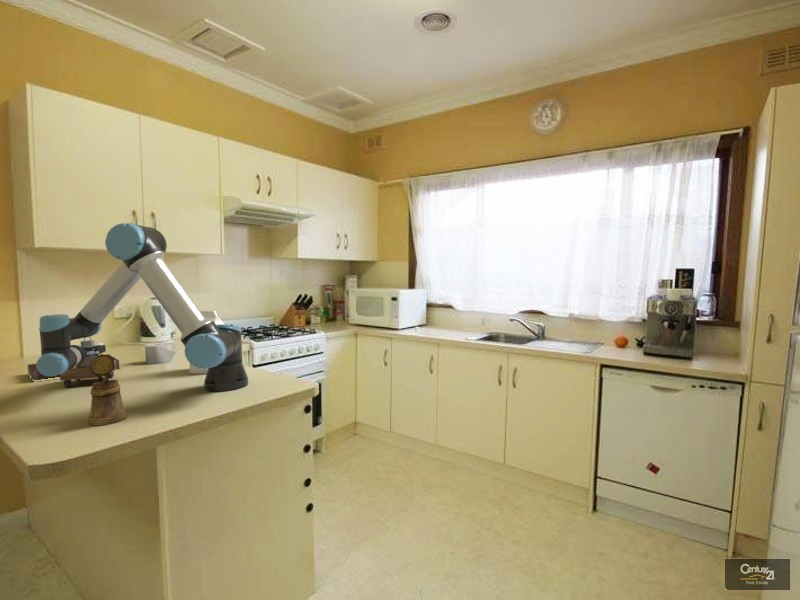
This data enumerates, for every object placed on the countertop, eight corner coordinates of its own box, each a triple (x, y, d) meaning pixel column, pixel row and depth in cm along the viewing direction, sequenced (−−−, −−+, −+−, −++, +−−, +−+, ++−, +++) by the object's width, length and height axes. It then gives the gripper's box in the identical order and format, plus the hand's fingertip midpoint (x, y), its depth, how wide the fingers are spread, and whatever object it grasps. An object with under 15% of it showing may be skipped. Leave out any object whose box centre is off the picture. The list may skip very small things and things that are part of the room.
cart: (105, 384, 159) (104, 366, 159) (61, 388, 154) (59, 370, 154) (116, 376, 172) (115, 359, 172) (76, 379, 167) (74, 362, 167)
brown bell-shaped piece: (122, 409, 129) (119, 351, 128) (128, 420, 119) (124, 358, 118) (87, 415, 123) (83, 356, 122) (90, 428, 113) (85, 363, 112)
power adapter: (80, 365, 162) (78, 334, 162) (97, 363, 166) (95, 333, 165) (80, 366, 160) (78, 335, 159) (97, 364, 163) (95, 334, 162)
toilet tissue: (173, 363, 197) (172, 345, 196) (142, 365, 194) (141, 346, 193) (179, 359, 206) (178, 342, 205) (149, 361, 203) (148, 343, 202)
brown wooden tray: (33, 383, 165) (32, 371, 164) (28, 376, 177) (27, 364, 177) (119, 370, 185) (118, 359, 185) (109, 364, 198) (108, 354, 198)
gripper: (37, 370, 143) (65, 357, 164) (101, 365, 149) (120, 353, 171) (35, 348, 142) (64, 338, 164) (100, 344, 148) (119, 335, 170)
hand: (92, 346), depth 167 cm, fingers closed on power adapter, 6 cm apart
